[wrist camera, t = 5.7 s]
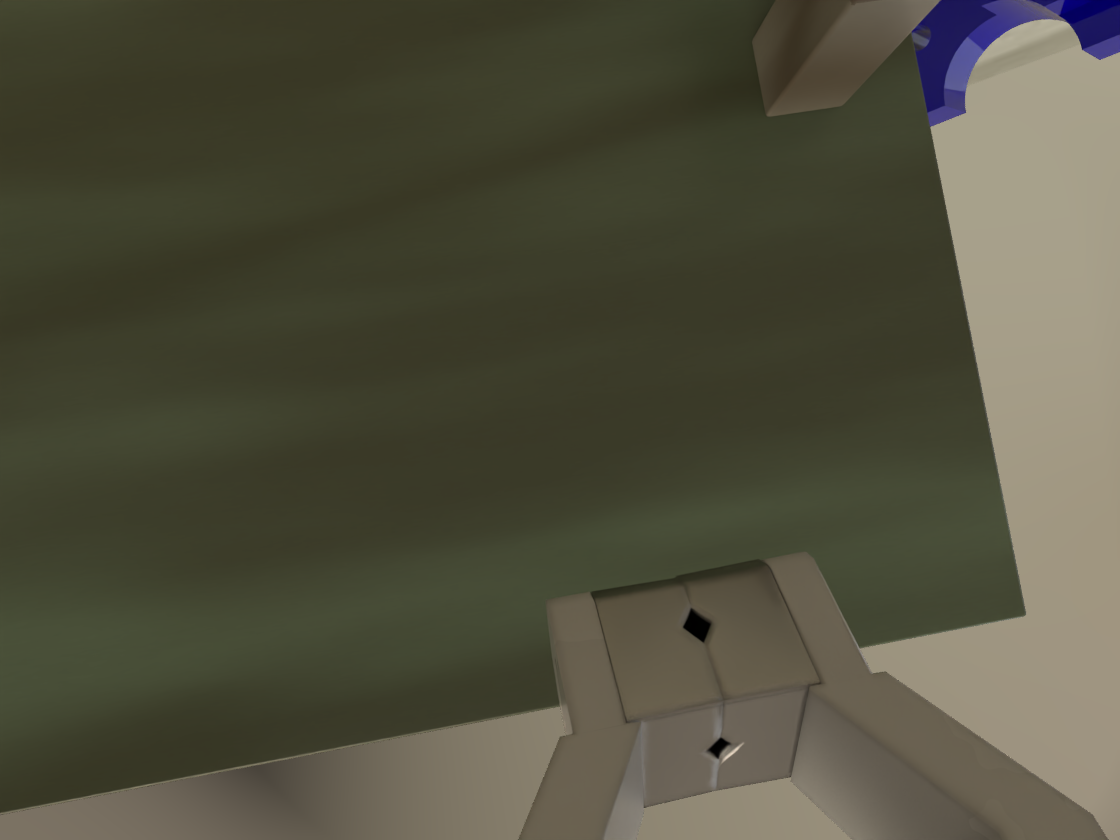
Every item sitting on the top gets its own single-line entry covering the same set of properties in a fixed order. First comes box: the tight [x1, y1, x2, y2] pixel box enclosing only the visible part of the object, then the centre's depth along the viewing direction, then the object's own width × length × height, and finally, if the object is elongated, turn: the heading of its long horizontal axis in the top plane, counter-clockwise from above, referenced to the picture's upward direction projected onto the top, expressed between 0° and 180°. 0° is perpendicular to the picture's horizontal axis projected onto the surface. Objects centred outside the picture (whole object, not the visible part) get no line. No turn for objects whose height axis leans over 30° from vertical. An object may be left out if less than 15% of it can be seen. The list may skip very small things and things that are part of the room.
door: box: [0, 0, 1026, 815], centre depth 16 cm, size 6×20×20 cm, turn 86°
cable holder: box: [912, 0, 1120, 127], centre depth 35 cm, size 8×4×4 cm, turn 137°
